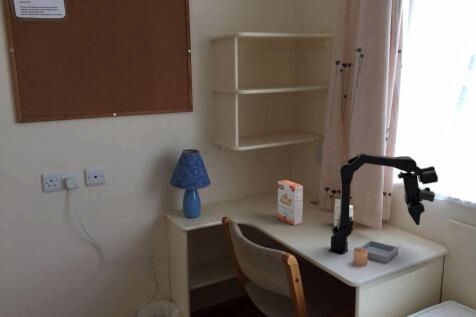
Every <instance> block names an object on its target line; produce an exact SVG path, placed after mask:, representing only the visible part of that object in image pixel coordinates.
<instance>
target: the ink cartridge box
mask: <svg viewBox="0 0 476 317" xmlns="http://www.w3.org/2000/svg"><path fill="white" fill-rule="evenodd" d="M340 201H341V199H339V198H335V199H334V210H333V211H334V212H333V213H334V215H333V217H334V218H333V227H335V226H337V222H338V218H339V215H340ZM353 206H354V205H351V204H350V208H349V217H352V219H353V220H354V211H353Z"/></svg>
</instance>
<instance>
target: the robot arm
mask: <svg viewBox="0 0 476 317" xmlns="http://www.w3.org/2000/svg"><path fill="white" fill-rule="evenodd" d="M365 164H367V165H368V164H369V165H376V166H383V167H390V168H394V169H396V170H399V171H400V172H399V173H398V174H397V175H396V176H397V178H398V179H402V181H403V189H404V194H403V197H404V198H403V199H404V202H405V204H406V206H407V207H406V208H407V212H408V214H409V215H410V217H411V218H412V220H413V222H414V224H415V225H416V226H420V223H421V215H422V214H423V213H425V206H424V203H422V202H423V201H427V202H431V203H433V202H434V201H435V197H436V194H435V192H434V191H431V188H430V187H427V186H425V188H423V189H421V188H420V185H419V184H420V183H421V184H422V185H429V184H434V183H438V182H439V176H438V174H437V171H436V169H435V166H433V165H432V166H428V167H422V168H421V167H419V166H418V163H417V161H416V160H414V159H413V158H412V157H411V156H407V155H406V156H405V155H403V156H385V155H381V154H371V153H365V152H360V153H358V154H357V155H356V156H353V157H351V158H350V159H348V160H347V161H342V162H341V163H339V165H338V174H339V178H340V200H341V201H340V215H339V218H338V222H337V226H333V227H332V229H331V233H332V235H331V236H330V248H329V249H328V252H332V253H334V254H335V253H336V254H338V255H344V254H345V253H346V252H348V251H349V249H348V247H349V246H348V245H349V242H348V237H349V236H350V235H351V234H352V232H353V231H354V229H353V228H354V218H353V219H352V217H349V208H350V205H351V204H350V202H351V185H352V182H353V178H354V174H355V173H356V171H358V170H359V169H360V168H361V167H362V166H363V165H365ZM351 236H352V235H351Z"/></svg>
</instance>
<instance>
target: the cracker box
mask: <svg viewBox="0 0 476 317" xmlns="http://www.w3.org/2000/svg"><path fill="white" fill-rule="evenodd" d="M303 194H304V185H302V184H299V183H296V182H295V181H294V182H293V181H290V180H287V179H283V180H278V181H277V218H278V219H280V220H281V221H282V222H283V221H284V222H285V223H288V224H290V225H292V226H297V225H301V224H303V206H304V205H303V201H304V195H303Z"/></svg>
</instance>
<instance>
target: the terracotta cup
mask: <svg viewBox="0 0 476 317" xmlns="http://www.w3.org/2000/svg"><path fill="white" fill-rule="evenodd" d="M367 256H368V250H367V249H365V248H361V246H360V247H359V246H358V247H355V248H353V257H352V258H353V262H352V264H353V265H354V266H357V267H361V268H362V267H366V266H367V265H368V259H367Z"/></svg>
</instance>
